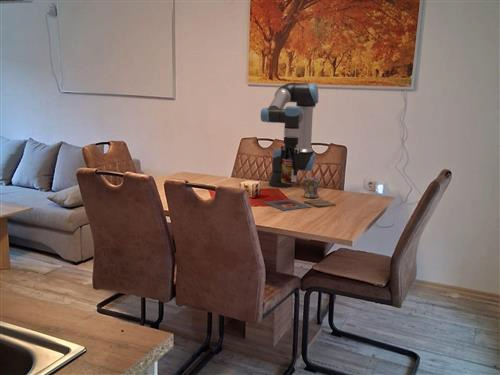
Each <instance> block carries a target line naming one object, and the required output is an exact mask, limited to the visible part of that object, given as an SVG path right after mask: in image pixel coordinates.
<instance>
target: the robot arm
mask: <svg viewBox="0 0 500 375" xmlns="http://www.w3.org/2000/svg"><path fill="white" fill-rule="evenodd" d="M288 103H296V105H295V106H294V105H287V106H286V104H288ZM317 104H319V88H318V86H317V83H314V82H313V83H311V82H288V83H285V84H283V85H281V86H279V87H278V88H277V90H276V91H275V93H274V98H273V99H272V101H271V102H270V104H269V106H268V107H263V108H261V110H260V120H261V122H264V123H272V124H273V123H275V124H277V123H278V124H284V128H283V129H284V130H283V145H281V146H280V148H278V149H275V150H273V152H272V153H273V154H272V166H271V170H272V171H271V175H270V178H269V181H268V186H270V187H274V188H290V187H293V184H288V183H282V182H281V176H282V159H288V158H291V161H292V166H293V168H292V176H291V182H296V183H297V178H296V177H297V176H298V171H303V172H312V171H313V168H314V164H315V161H316V160H315V159H316V153H315V152H314V149H313V148H312V133H313V116H314V115H313V113H314V108H316V105H317Z"/></svg>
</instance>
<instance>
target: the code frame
mask: <svg viewBox="0 0 500 375" xmlns="http://www.w3.org/2000/svg"><path fill="white" fill-rule="evenodd" d="M284 203H287V204H284ZM263 204H265V205H268V206H270V207H273V208H276V209H277V210H279V211H283V212H287V211H295V210H296V211H297V210H302V209H311V208H312V205H309V204H306V203H304V202H299V201H297V200H294V199H292V198H290V199H282V200H273V201H271V200H270V201H264V202H263ZM279 204H280V205H279ZM293 204H294V205H295V206H293ZM296 205H297V206H296Z"/></svg>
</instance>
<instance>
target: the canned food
mask: <svg viewBox="0 0 500 375" xmlns="http://www.w3.org/2000/svg"><path fill="white" fill-rule="evenodd" d="M292 168H293V166H292V161H291V158H288V159H282V176H281V182H282V183H288V184H292V185H293V184H296V183H297V181H296V182H291V176H292ZM296 179H297V177H296Z"/></svg>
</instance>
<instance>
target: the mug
mask: <svg viewBox="0 0 500 375" xmlns="http://www.w3.org/2000/svg"><path fill="white" fill-rule="evenodd" d="M320 181H321V179H320V178H319V177H317V178H316V177H304V178H303V179H301V180H300V181H299V184H300V187H301V188H302V189H303V190H304V192H303V197H305V198H307V199H315V198H318V197H319V193H318V187H319V184H320ZM302 182H304V184H305V187H303V185H302Z"/></svg>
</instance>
